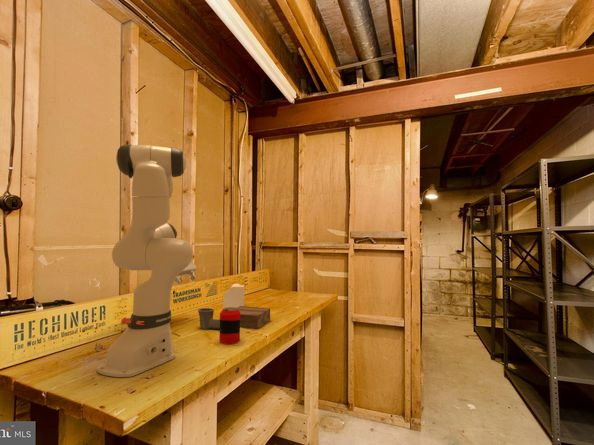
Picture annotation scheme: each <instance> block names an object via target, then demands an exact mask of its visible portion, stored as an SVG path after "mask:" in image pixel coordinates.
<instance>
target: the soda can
mask: <svg viewBox="0 0 594 445" xmlns="http://www.w3.org/2000/svg"><path fill="white" fill-rule="evenodd" d="M219 319H220V329H219V339H218V340H219V341H218V342H219V343H220V344H222V345H235V344H238V342H240V341H241V328H240V311H239V310H238V308H235V307H223V309H222V310H221V311H220V312H219Z"/></svg>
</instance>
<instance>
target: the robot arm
mask: <svg viewBox="0 0 594 445" xmlns="http://www.w3.org/2000/svg"><path fill="white" fill-rule="evenodd" d="M115 163H116V166H117V167H118V170H119V171H120V172H121V173H122V174H123V175H125V176H128V178H129V179H132V182H131V184H132V185H131V196H132V197H131V201H132V203H131V204H132V205H131V206H132V212H131V213H132V215H131V216H132V217H131V223H130V227H129V229H128V231H127V232H126V234H125V235H124V236H123V237H122V238H121V239H120V240H118V241H117V242H116V244H115V245H114V246H113V248H112V250H111V251H112V252H111V259H112V262H113V263H114V265H115V266H116V267H117V268H119V269H124V270H128V271H129V270H130V271H151V273H150V274H151V276H150V278H149V279H148V280H146V281H144V282H141V283H140V284H139V285H138V286H137V287H136V288H135V289H134V292H133V302H132V303H133V304H132V305H133V306H132V313H131V315H130V318H129V317H122V319H121V320H120V323H121V324H122V325H126V326H127V328H125V330H124V331H122V334H120V335H119V336H118V338H117V339H116V340H115V341H114V342H113V343H111V345H110V346H109V347H108V350H107V353H106V360H105V361H104V362H102V363H100V364H99V365H97V366H96V372H97V373H98V374H100V375H103V376H108V377H115V378H129V377H134V376H137V375H139V374H140V373H143V372H146V371H148V370H151V369H152V368H155V367H158V366H160V365H162V364H165V363H167V362H169V361H172V360H174V359H175V358H176V354H175V350H174V347H173V346H174V345H173V334H172V328H171V324H170V323H171V321H172V311H171V296H172V295H171V294H172V287H173V285H174V282H175V283H176V284H177V285H180V284H182V282H183V280H182V278H179V277H180V276H185V275H188V276H190V278H189V279H190V281H192V282H193V281H195V280H196V279H197V277H196V275H195V272H196V270H197V266H196V264H195V263H194V261H193V257H194V251H193V247H192V245H191V244H190V242H189V241H188V240H185V239H180V238H177V236H178V231H177V230H176V228H175V227H174V226H173V225H172V224H171V223H169V219H170V217H171V210H170V209H171V208H170V199H171V197H172V196H173V191H174V186H173V178H178V177H181V176H183V175H184V173H185V170H186V167H187V159H186V156H185V155H184V152H183V150H181V149H180V148H176V147H165V146H161V145H152V144H133V145H132V144H124V145H121V146H119V148H118V149H117V152H116V156H115Z"/></svg>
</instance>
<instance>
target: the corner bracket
mask: <svg viewBox="0 0 594 445" xmlns="http://www.w3.org/2000/svg"><path fill="white" fill-rule="evenodd" d="M222 299H223V300H222V301H223V307H222V308H228V307H235V308H236V307H239V306H245V285H244V284H240V283H233V284H232V285H231V286H230V287H229V288H228V289H227V290H226V291H225V292H224V293H223V298H222Z"/></svg>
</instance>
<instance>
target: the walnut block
mask: <svg viewBox="0 0 594 445" xmlns="http://www.w3.org/2000/svg"><path fill="white" fill-rule="evenodd" d="M236 308H238V310H239V311H240V329H241V328H242V329H249V330H259V329H260V328H262V327H264V326H265V325H266V324H267V323H269V322H270V321H271V308H269V307H259V306H247V305H246V306H245V305H244V306H239V307H236Z"/></svg>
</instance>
